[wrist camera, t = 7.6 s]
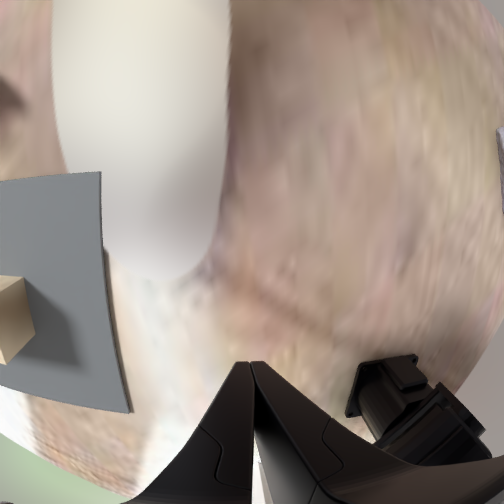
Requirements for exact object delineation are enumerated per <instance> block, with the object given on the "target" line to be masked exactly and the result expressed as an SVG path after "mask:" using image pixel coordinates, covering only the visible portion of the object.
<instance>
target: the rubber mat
mask: <svg viewBox="0 0 504 504" xmlns="http://www.w3.org/2000/svg"><path fill="white" fill-rule="evenodd" d="M0 275H4V276H16V277H24V283H25V289H26V294H27V299H28V304H29V309H30V313H31V317H32V321H33V326H34V329H35V333H36V334H35V335H34V336H33V337H32V338H31V339H30V340H29V341H28V342H27V343H26V345H25V346H24V347H23V348H22V349H21V350H20V351H19V352H18V353H17V354H16V355H15V356H14V357H13V358H12V359H11V361H10V362H9V363H8V364H7V365H5V364H1V363H0V385H1V386H4V387H7V388H10V389H13V390H17V391H20V392H23V393H27V394H30V395H34V396H38V397H42V398H46V399H50V400H54V401H58V402H62V403H67V404H72V405H77V406H82V407H87V408H93V409H99V410H105V411H112V412H119V413H127V414H129V413H130V409H129V405H128V401H127V397H126V393H125V389H124V385H123V381H122V376H121V372H120V367H119V362H118V357H117V352H116V347H115V341H114V336H113V330H112V324H111V317H110V310H109V303H108V295H107V286H106V277H105V266H104V254H103V238H102V216H101V172H85V173H72V174H60V175H49V176H40V177H31V178H23V179H15V180H7V181H0Z"/></svg>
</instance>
